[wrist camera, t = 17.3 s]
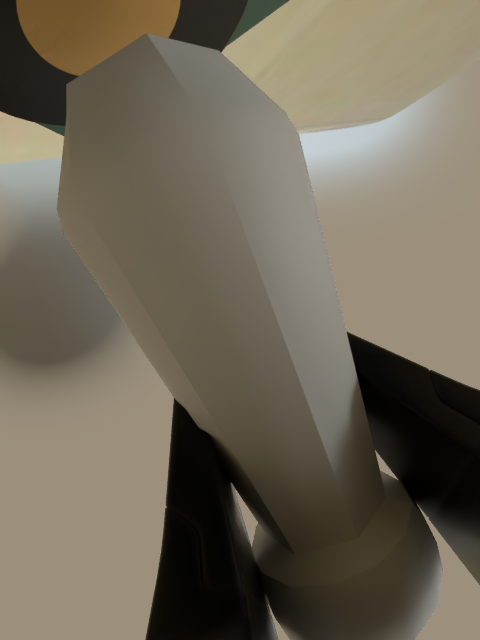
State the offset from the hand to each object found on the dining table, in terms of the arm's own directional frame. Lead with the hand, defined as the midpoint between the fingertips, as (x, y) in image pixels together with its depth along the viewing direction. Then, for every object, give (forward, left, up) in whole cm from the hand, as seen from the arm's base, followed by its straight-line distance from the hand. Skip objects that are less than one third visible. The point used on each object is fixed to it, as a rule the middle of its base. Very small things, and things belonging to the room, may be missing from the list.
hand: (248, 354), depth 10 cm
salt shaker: (-1, +1, -7) cm, 7 cm away
